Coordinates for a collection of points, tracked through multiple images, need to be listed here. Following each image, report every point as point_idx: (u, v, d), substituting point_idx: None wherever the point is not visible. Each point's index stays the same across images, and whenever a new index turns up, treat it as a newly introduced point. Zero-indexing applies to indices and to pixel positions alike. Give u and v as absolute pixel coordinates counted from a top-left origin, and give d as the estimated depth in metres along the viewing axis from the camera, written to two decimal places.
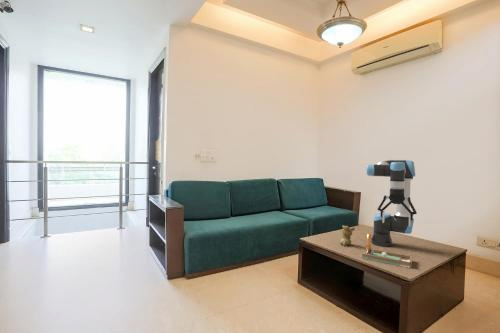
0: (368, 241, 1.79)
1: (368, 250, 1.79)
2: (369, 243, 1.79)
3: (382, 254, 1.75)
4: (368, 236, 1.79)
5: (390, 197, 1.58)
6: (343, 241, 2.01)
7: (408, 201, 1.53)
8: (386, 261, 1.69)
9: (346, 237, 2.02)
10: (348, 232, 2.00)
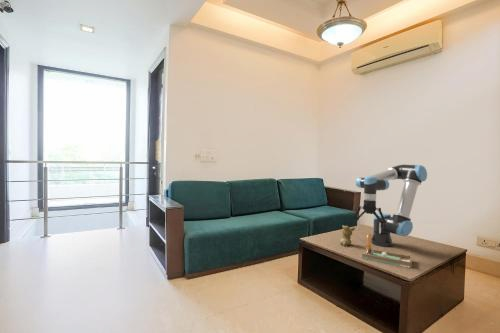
0: (368, 241, 1.79)
1: (368, 250, 1.79)
2: (369, 243, 1.79)
3: (382, 254, 1.75)
4: (368, 236, 1.79)
5: (364, 207, 1.80)
6: (343, 241, 2.01)
7: (379, 211, 1.75)
8: (386, 261, 1.69)
9: (346, 237, 2.02)
10: (348, 232, 2.00)
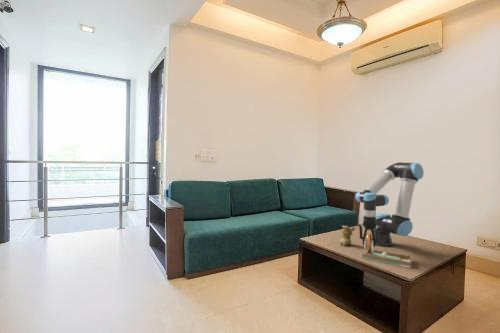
0: (368, 241, 1.79)
1: (368, 250, 1.79)
2: (369, 243, 1.79)
3: (382, 254, 1.75)
4: (368, 236, 1.79)
5: (363, 223, 1.80)
6: (343, 241, 2.01)
7: (377, 229, 1.76)
8: (386, 261, 1.69)
9: (346, 237, 2.02)
10: (348, 232, 2.00)
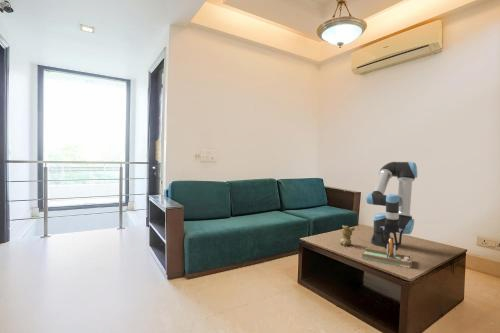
0: (390, 245, 1.72)
1: (390, 254, 1.72)
2: (391, 247, 1.72)
3: (404, 259, 1.68)
4: (390, 239, 1.72)
5: (385, 226, 1.73)
6: (343, 241, 2.01)
7: (400, 232, 1.69)
8: (386, 261, 1.69)
9: (346, 237, 2.02)
10: (348, 232, 2.00)
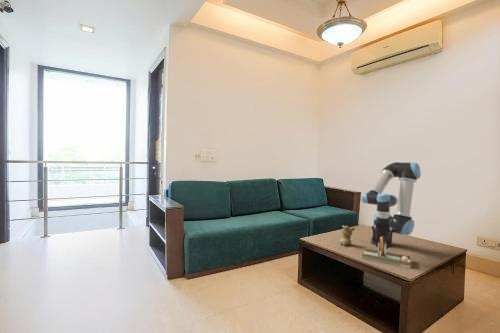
0: (381, 243, 1.75)
1: (381, 252, 1.75)
2: (382, 245, 1.75)
3: (402, 260, 1.68)
4: (381, 238, 1.75)
5: (377, 225, 1.76)
6: (343, 241, 2.01)
7: (390, 231, 1.72)
8: (386, 261, 1.69)
9: (346, 237, 2.02)
10: (348, 232, 2.00)
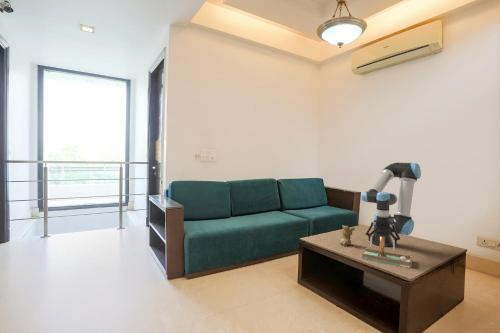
0: (381, 243, 1.75)
1: (381, 252, 1.75)
2: (382, 245, 1.74)
3: None
4: (381, 238, 1.75)
5: (377, 224, 1.76)
6: (343, 241, 2.01)
7: (392, 228, 1.71)
8: (386, 261, 1.69)
9: (346, 237, 2.02)
10: (348, 232, 2.00)
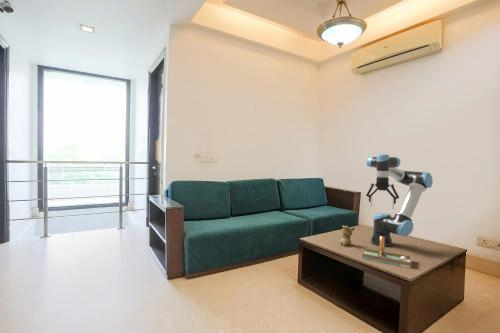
0: (381, 243, 1.75)
1: (381, 252, 1.75)
2: (382, 245, 1.74)
3: (402, 260, 1.69)
4: (381, 238, 1.75)
5: (377, 184, 1.84)
6: (343, 241, 2.01)
7: (392, 187, 1.79)
8: (386, 261, 1.69)
9: (346, 237, 2.02)
10: (348, 232, 2.00)
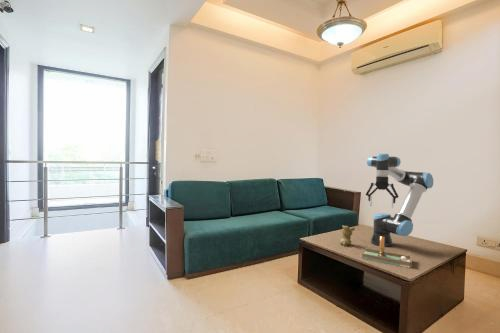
0: (381, 243, 1.75)
1: (381, 252, 1.75)
2: (382, 245, 1.74)
3: (402, 260, 1.68)
4: (381, 238, 1.75)
5: (376, 184, 1.84)
6: (343, 241, 2.01)
7: (391, 187, 1.79)
8: (386, 261, 1.69)
9: (346, 237, 2.02)
10: (348, 232, 2.00)
